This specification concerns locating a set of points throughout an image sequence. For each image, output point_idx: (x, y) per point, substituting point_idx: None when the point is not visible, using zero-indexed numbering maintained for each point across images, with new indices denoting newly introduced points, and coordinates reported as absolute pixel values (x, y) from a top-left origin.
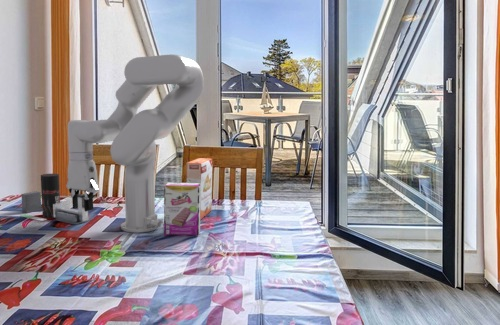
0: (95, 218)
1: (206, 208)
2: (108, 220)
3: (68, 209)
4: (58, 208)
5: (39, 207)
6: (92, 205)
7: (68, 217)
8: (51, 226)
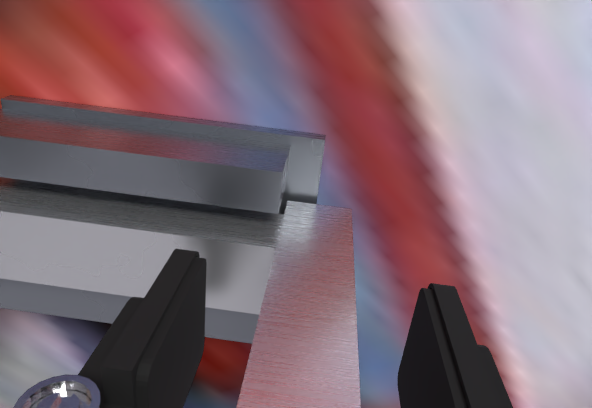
0: (321, 50)
1: None
2: (530, 51)
3: (48, 257)
4: None
5: None
6: (493, 365)
7: None
8: None
